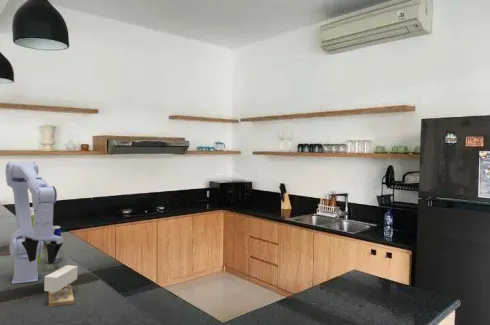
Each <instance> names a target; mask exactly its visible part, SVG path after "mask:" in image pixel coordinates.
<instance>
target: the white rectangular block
mask: <svg viewBox="0 0 490 325" xmlns="http://www.w3.org/2000/svg"><path fill="white" fill-rule="evenodd" d="M77 279H78V265H69V264H67V265H64V266H63V267H60V268H58V269H57V270H55V271H53V272H51V273H49V274H46V275H45V276H44V283H43V284H44V287H43V288H44V289H43V290H44V292H49V291H51V292H57V291H59V290H60V289H62V288H63V287H65V286H67V285H71V284H72V283H73V282H74V281H77Z"/></svg>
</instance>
